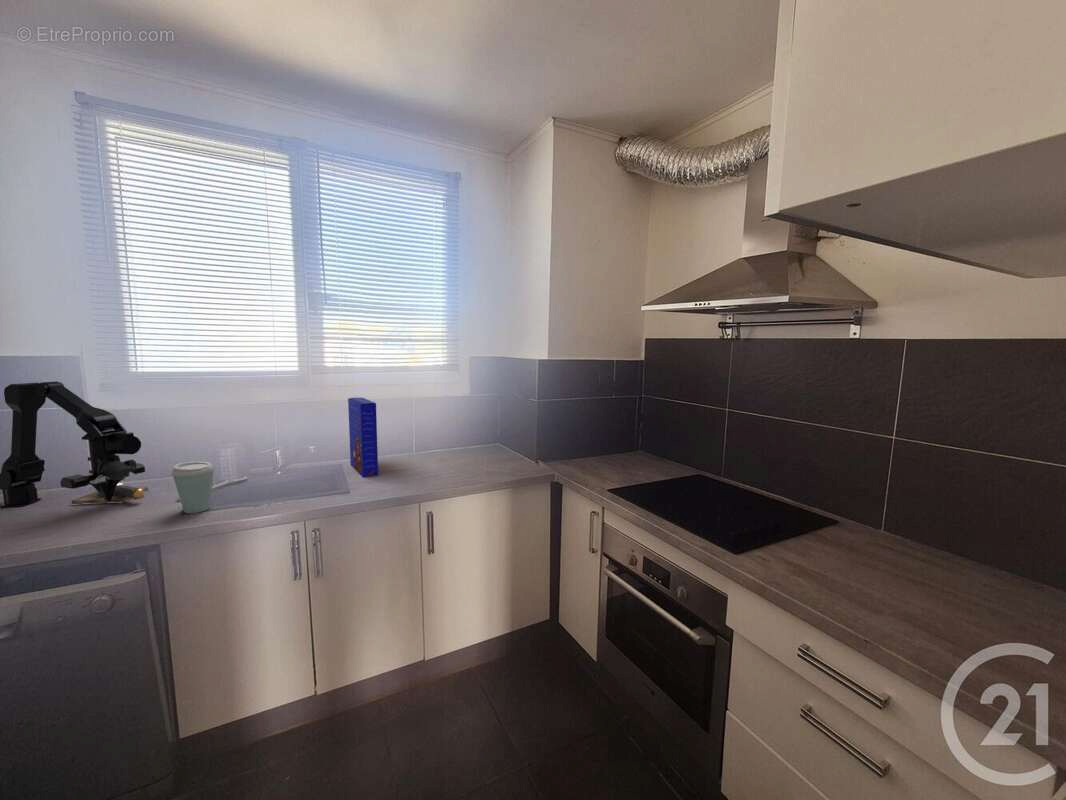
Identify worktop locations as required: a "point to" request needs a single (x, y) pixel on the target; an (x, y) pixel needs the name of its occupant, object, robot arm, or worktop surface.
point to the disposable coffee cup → (194, 485)
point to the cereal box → (363, 436)
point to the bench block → (101, 498)
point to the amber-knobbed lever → (127, 491)
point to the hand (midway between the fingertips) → (108, 501)
